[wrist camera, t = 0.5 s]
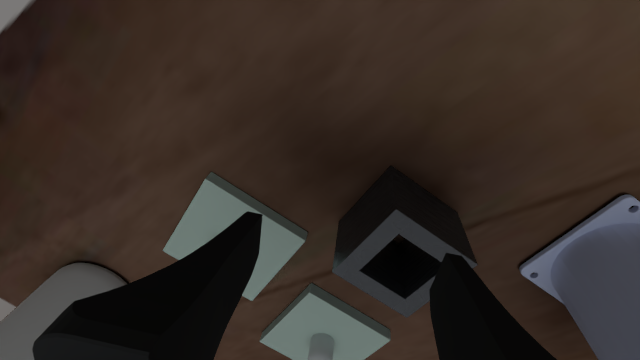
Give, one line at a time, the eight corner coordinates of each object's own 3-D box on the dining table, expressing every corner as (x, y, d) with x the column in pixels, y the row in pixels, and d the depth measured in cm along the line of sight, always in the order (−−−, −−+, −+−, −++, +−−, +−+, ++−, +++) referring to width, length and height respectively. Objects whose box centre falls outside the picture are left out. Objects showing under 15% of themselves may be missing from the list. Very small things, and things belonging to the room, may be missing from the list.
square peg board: (390, 329, 29) (393, 382, 25) (334, 371, 33) (329, 423, 29) (311, 282, 28) (301, 331, 24) (262, 331, 31) (247, 380, 27)
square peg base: (307, 232, 25) (296, 276, 21) (255, 291, 29) (237, 339, 25) (211, 171, 24) (180, 207, 20) (169, 242, 28) (135, 284, 24)
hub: (457, 212, 23) (477, 264, 19) (400, 261, 26) (406, 317, 21) (390, 165, 22) (396, 209, 18) (338, 221, 25) (332, 271, 20)
